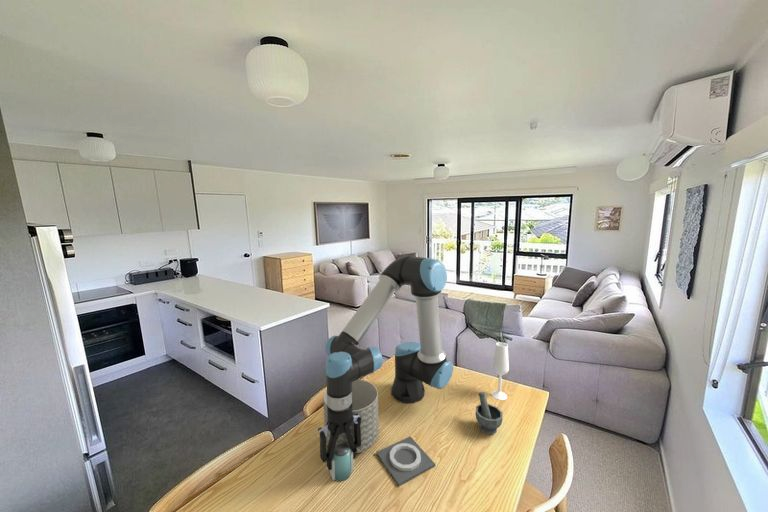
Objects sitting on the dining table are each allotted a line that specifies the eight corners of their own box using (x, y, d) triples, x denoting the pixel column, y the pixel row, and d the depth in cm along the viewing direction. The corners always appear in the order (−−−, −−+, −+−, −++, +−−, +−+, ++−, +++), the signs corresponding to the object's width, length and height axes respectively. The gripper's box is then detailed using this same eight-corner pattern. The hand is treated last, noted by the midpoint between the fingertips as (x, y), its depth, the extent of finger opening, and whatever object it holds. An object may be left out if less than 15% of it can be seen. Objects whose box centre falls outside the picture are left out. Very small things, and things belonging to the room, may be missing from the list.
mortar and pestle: (507, 435, 107) (509, 405, 106) (484, 440, 105) (486, 409, 103) (489, 415, 118) (490, 387, 117) (468, 419, 116) (469, 391, 114)
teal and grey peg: (330, 470, 93) (329, 446, 92) (346, 463, 96) (345, 439, 94) (337, 484, 88) (336, 458, 87) (353, 476, 91) (353, 451, 90)
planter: (386, 429, 111) (385, 384, 108) (364, 469, 93) (364, 417, 91) (341, 417, 118) (340, 375, 115) (314, 452, 100) (312, 403, 98)
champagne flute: (508, 393, 132) (511, 343, 129) (505, 401, 127) (508, 349, 124) (493, 389, 136) (495, 340, 133) (489, 396, 130) (492, 345, 127)
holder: (376, 454, 99) (376, 449, 99) (410, 438, 106) (410, 433, 106) (399, 486, 87) (399, 481, 87) (435, 466, 94) (435, 461, 94)
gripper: (313, 422, 81) (316, 496, 84) (372, 401, 90) (373, 468, 93) (306, 407, 87) (309, 476, 91) (361, 388, 97) (362, 452, 100)
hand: (341, 472), depth 92 cm, fingers closed on teal and grey peg, 5 cm apart
